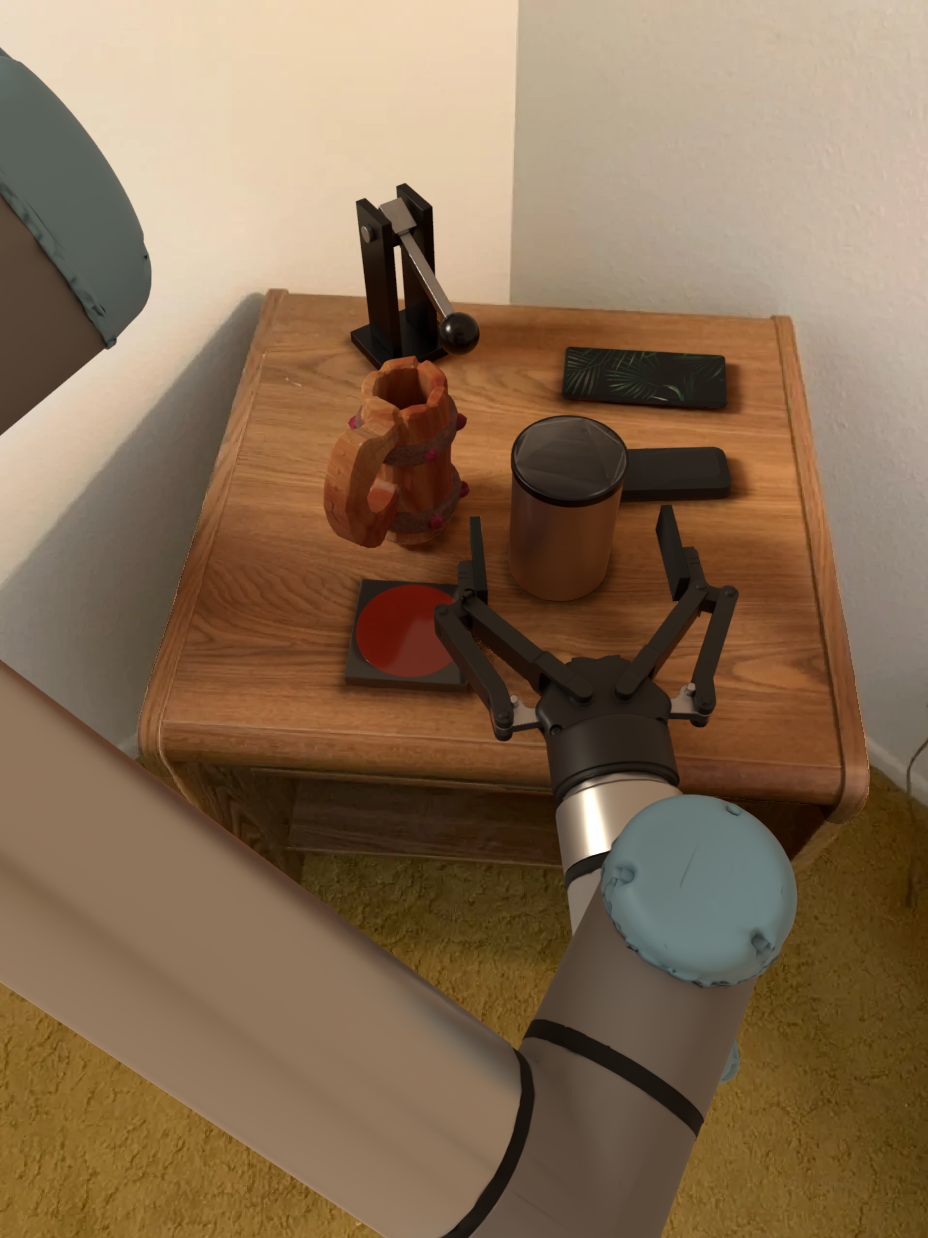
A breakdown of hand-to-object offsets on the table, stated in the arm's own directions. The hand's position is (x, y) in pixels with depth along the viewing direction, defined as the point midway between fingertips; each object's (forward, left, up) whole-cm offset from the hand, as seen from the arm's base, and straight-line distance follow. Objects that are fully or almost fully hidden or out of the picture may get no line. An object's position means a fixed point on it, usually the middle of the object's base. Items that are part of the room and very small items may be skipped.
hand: (569, 522), depth 66 cm
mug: (-14, 0, -8) cm, 16 cm away
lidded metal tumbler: (-1, +3, -8) cm, 9 cm away
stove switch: (-23, +23, -8) cm, 33 cm away
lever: (-20, +20, +1) cm, 28 cm away
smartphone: (0, +26, -8) cm, 27 cm away
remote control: (+3, +14, -8) cm, 16 cm away
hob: (-9, -8, -8) cm, 15 cm away
